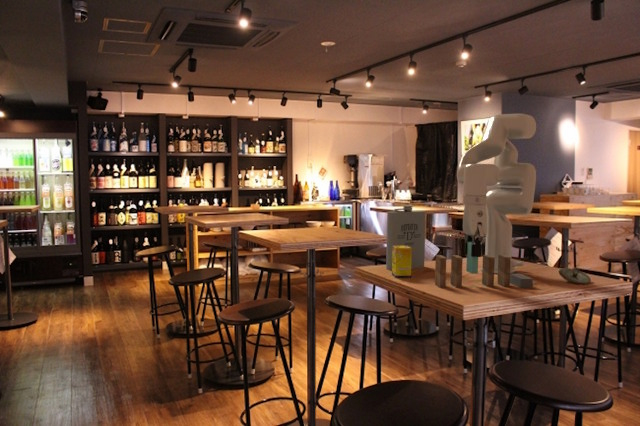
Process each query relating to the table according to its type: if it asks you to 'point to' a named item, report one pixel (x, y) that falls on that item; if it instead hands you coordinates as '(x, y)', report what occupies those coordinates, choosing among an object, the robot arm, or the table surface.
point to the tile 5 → (504, 270)
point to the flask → (406, 234)
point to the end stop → (521, 281)
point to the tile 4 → (488, 270)
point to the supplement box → (401, 261)
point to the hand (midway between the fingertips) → (472, 254)
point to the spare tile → (471, 261)
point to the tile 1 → (440, 271)
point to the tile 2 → (456, 271)
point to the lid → (574, 276)
